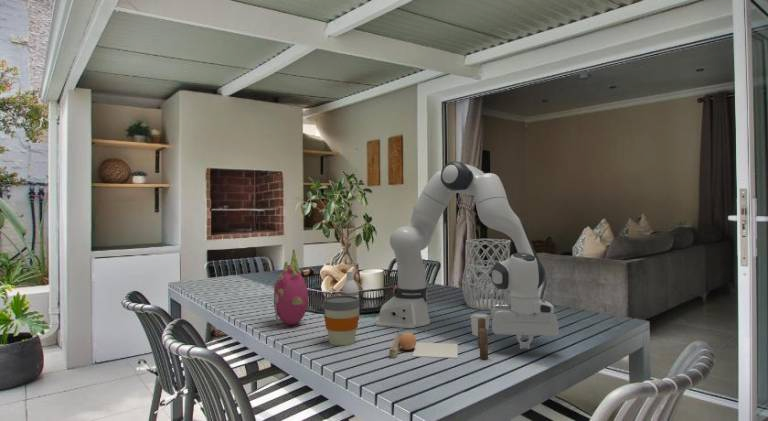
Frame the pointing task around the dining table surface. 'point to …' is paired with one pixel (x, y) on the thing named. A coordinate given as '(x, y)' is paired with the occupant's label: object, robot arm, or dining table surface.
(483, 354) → the post
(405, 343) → the ball
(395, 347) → the stopper rail
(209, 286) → the dining table surface
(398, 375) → the dining table surface
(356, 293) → the bath foam
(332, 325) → the reusable coffee cup
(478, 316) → the shot glass
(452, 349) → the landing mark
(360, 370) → the dining table surface
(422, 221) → the robot arm
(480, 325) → the post
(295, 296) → the pink dragon fruit
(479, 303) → the vase
